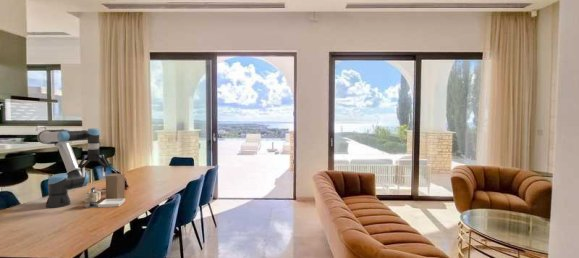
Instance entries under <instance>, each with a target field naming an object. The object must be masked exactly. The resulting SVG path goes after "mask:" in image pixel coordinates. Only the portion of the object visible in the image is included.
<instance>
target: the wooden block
mask: <svg viewBox="0 0 579 258" xmlns="http://www.w3.org/2000/svg"><path fill="white" fill-rule="evenodd" d="M125 176H126V175H125V173H111V174H107V175H105V199H124V198H125V197H126V196H125V189H126V188H125V187H126V186H125V184H126V183H125V180H126V179H125V178H126V177H125Z"/></svg>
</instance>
